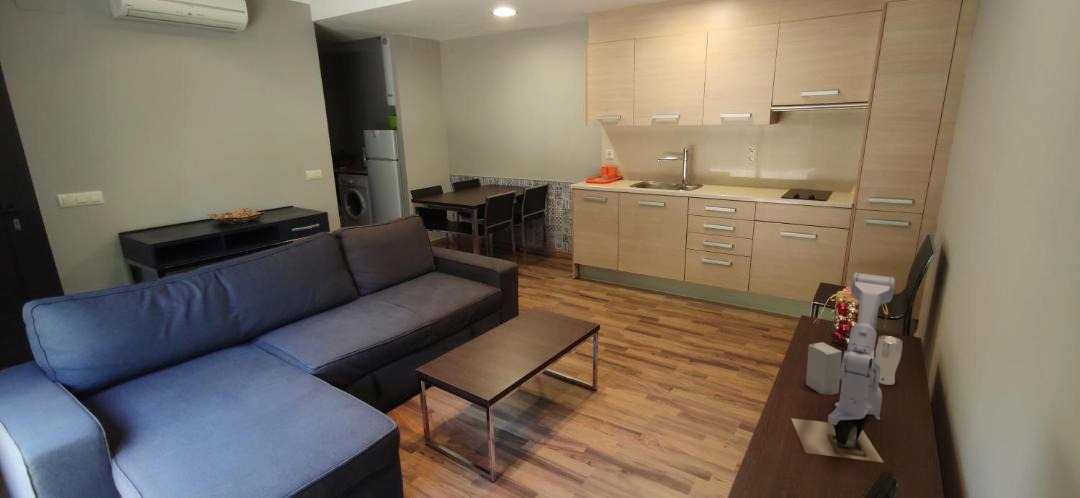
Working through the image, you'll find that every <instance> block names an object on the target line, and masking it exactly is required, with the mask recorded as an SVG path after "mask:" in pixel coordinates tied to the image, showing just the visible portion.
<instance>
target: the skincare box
mask: <svg viewBox="0 0 1080 498" xmlns="http://www.w3.org/2000/svg"><path fill="white" fill-rule="evenodd" d="M807 349H808V352H807V365H806V383H805V385H807V386H808V387H809V388H811V389H812V390H814V391H816V392H817V393H819V394H821V395H828V396H829V395H830V396H831V395H838V394H839V393H840V381H841V379H840V370H841V364H842V352H843V351H841V350H839V349H837V348H836V347H833V346H831V345H829V344H827V343H825V342H817V343H815V342H814V343H812V344H811V343H810V344H809V345H808V348H807Z"/></svg>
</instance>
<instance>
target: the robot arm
mask: <svg viewBox="0 0 1080 498" xmlns="http://www.w3.org/2000/svg"><path fill="white" fill-rule="evenodd" d="M895 285H896V279H895V278H894V276H885V275H876V274H870V273H869V274H868V273H861V272H857V271H855V272H854V273H853V275H852V278H851V285H850V293H851V295H852V298H854V299H855V300H857V301H858V302H859V303H858V304H859V305H858V315H857V323H856V324H855V325H853V326H852V327H851V328H850V334H849V338H848V339H849V340H848V344H847V347H846V348H847V349H846V350H845V351H844V353H843V357H842V360H841V367H840V381H841V388H840V395H839V401H837V402H835V404H834V406H835V407H836V408H835V409H834V410H833V411H832V412H831V413H829V414H828V417H827V422H829V423H832V424H833V427H834V429H835V434H836V440H837V442H839V443H841V444H842V445H845V444H846V443H847V440H848V436H849V433H850V431H851V430H852V428H853V427H854V425H855V426H856V427H857V434H856V440H857V439H858V438H859V436H860V434H861V432H862V430H863V429H865V427H866V426H867V424H868V423H870V422H871V421H872V418H871V417H870V416H869V415H872V416H873V415H874V417H875V418H876V420H879V421H880V420H881V417H880V415H881V408H882V403H883V393H882V390H881V388H880V386H879V385H880V383H879V380H880V373H881V364H880V361H879V360H878V359H876V356H875V349H876V343H877V342H876V341H877V337H878V336H877V335H878V333H877V331H876V327H877V323H878V315H879V308H880V306H882V305H883V304H888V303H890V302H891V301H892V300H893V296H894V291H895V290H894V289H895ZM850 423H851V424H850ZM852 424H853V425H852ZM863 431H864V430H863Z"/></svg>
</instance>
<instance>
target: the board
mask: <svg viewBox="0 0 1080 498" xmlns="http://www.w3.org/2000/svg"><path fill="white" fill-rule="evenodd" d="M790 420H791V422H792V424H793V427H794V428H795V431H796V433H797V436H798V437H799V440H800V442H801V445H802V448H803V450H804V452H805V453H806V454H812V455H820V456H828V457H829V456H830V457H836V458H845V459H853V460H859V461H860V460H861V461H868V462H877V463H884V460H883V459H882V457H881V456H880V454H879V453H878V451H877V450H876V449H875V447H874V445H873V444H872V442H871V440H870V438H868V436H867V434H866V432H865V431H864V430H862V432H861V434H860V436H859V438H858V439H857V440H856V442H855V447H853V448H848V447H844V446H842V445H840V444H839V443H838V442H837V440H836V434H835V429H834V427H833V424H832V423H830V422H828V421H818V420H812V419H811V420H809V419H801V418H790Z"/></svg>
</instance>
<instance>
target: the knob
mask: <svg viewBox="0 0 1080 498" xmlns="http://www.w3.org/2000/svg"><path fill="white" fill-rule="evenodd" d="M850 424H851V423H850ZM852 425H853V424H852ZM856 434H857V427H856V426H855V425H854V427H853V428H852V430H851V431H850V433H849V436H848V440H847V443H846V444H845V445H842V444H841V443H839V442H838V443H839V444H840V445H842V446H844V447H848V448H853V447H855V442H856Z"/></svg>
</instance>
